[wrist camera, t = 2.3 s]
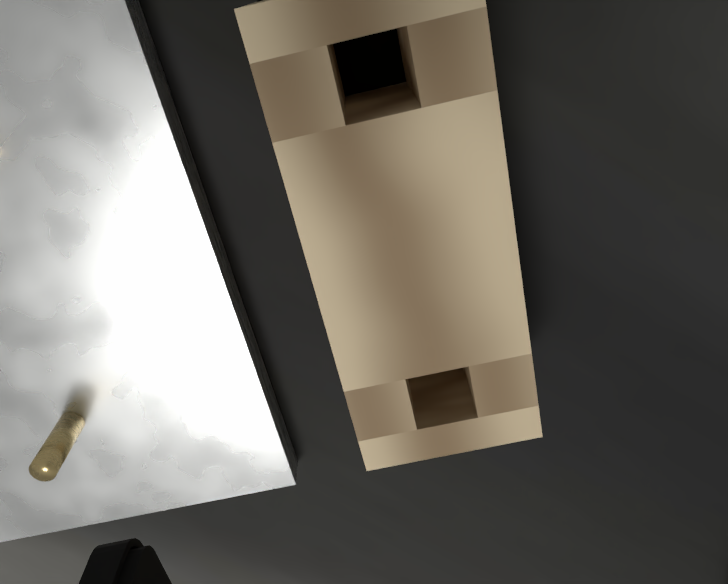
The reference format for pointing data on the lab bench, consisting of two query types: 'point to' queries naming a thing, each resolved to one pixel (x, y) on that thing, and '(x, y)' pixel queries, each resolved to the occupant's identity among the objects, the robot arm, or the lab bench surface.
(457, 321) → the tan rectangular block
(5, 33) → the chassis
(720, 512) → the lab bench surface
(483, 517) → the lab bench surface
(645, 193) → the lab bench surface
